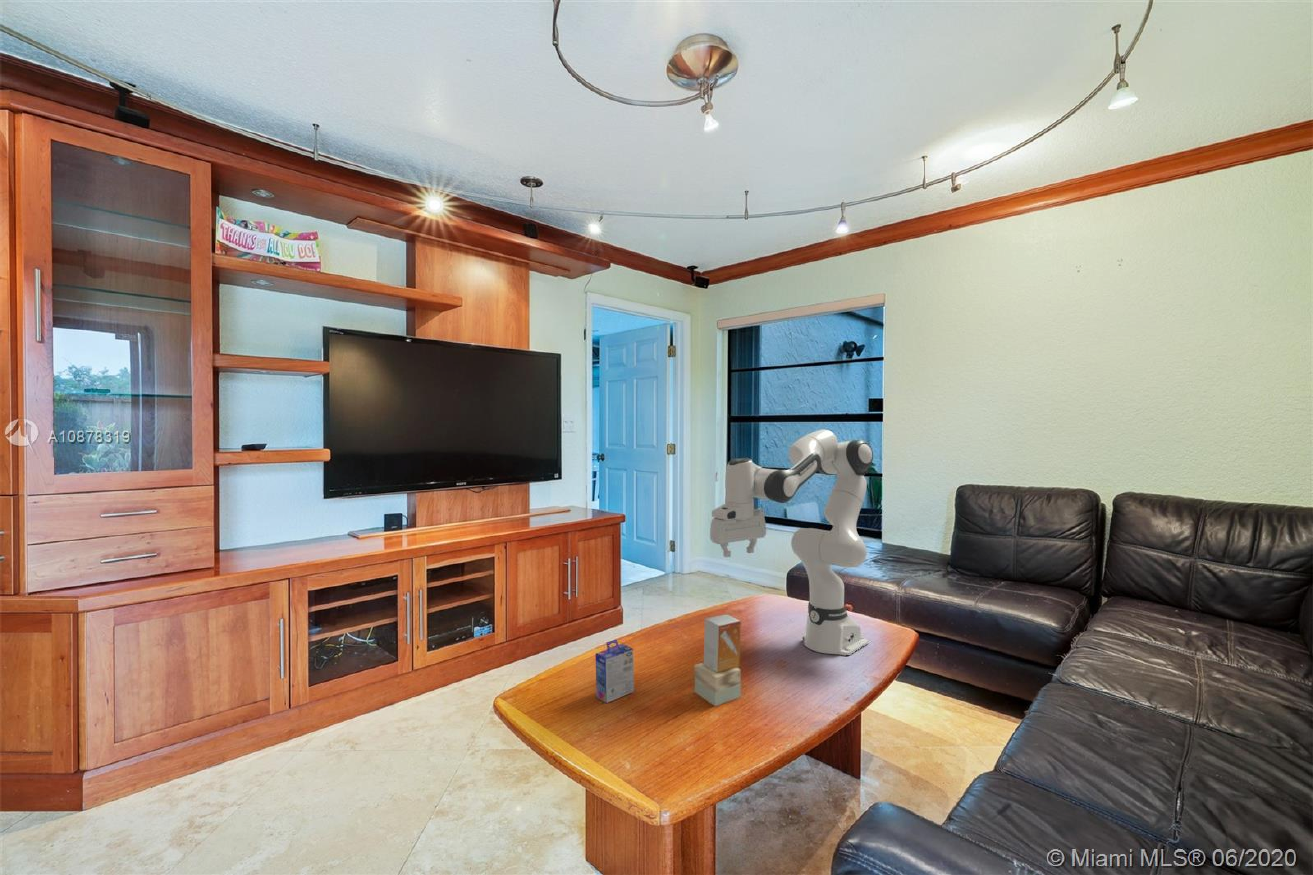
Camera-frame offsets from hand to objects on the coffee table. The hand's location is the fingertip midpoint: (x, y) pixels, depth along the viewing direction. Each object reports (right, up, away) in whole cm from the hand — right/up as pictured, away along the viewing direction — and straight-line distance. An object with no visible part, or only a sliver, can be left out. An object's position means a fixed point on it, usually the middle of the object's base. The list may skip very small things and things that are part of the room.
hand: (738, 554), depth 171 cm
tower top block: (-9, -31, -19) cm, 37 cm away
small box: (-7, -27, -18) cm, 34 cm away
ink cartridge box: (-37, -35, -19) cm, 54 cm away
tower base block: (-9, -35, -19) cm, 41 cm away
